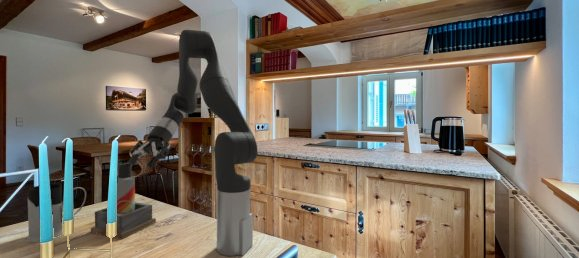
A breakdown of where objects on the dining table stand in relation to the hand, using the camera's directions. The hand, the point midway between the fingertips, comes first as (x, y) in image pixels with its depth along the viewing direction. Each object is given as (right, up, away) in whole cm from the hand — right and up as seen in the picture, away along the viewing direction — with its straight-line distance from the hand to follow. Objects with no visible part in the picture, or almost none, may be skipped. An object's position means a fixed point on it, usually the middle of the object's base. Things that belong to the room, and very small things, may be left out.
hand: (139, 166), depth 93 cm
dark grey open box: (-2, -20, -5) cm, 20 cm away
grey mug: (-20, -20, -10) cm, 30 cm away
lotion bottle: (-2, -18, -5) cm, 19 cm away
